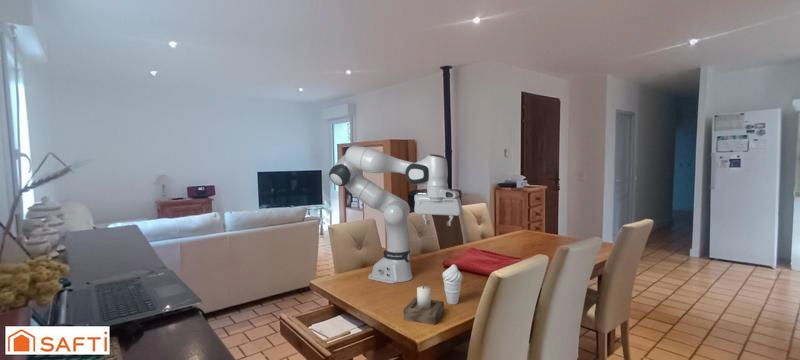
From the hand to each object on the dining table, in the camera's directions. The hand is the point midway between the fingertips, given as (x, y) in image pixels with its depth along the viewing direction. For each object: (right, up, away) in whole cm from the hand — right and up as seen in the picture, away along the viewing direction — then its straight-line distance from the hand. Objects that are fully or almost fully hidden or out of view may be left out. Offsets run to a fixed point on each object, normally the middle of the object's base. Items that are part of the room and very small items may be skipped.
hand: (437, 225), depth 156 cm
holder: (-7, -32, -17) cm, 37 cm away
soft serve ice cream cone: (+6, -32, -5) cm, 32 cm away
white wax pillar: (-7, -29, -17) cm, 34 cm away
